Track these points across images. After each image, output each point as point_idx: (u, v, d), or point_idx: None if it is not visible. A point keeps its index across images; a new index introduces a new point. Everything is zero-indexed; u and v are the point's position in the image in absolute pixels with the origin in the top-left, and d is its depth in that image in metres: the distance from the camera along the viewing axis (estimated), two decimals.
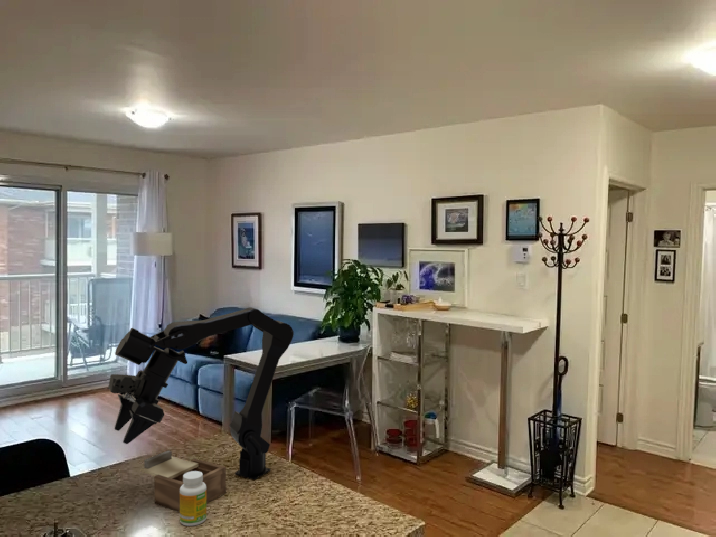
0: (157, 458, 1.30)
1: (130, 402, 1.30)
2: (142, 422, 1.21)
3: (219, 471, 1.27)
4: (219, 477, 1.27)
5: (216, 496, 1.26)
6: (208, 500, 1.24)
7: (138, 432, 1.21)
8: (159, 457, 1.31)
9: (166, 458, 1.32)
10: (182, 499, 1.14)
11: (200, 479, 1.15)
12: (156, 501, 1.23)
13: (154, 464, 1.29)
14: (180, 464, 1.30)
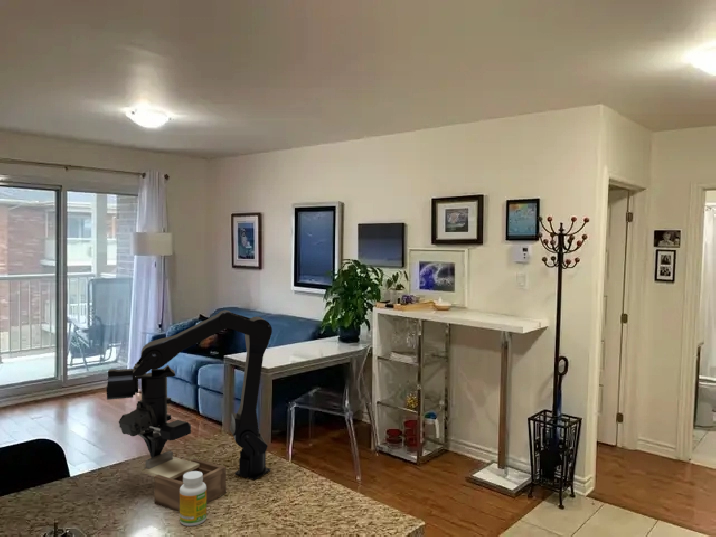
0: (158, 458, 1.30)
1: (152, 432, 1.32)
2: (160, 437, 1.31)
3: (219, 471, 1.27)
4: (219, 477, 1.27)
5: (216, 496, 1.26)
6: (208, 500, 1.24)
7: (162, 446, 1.32)
8: (160, 457, 1.30)
9: (167, 458, 1.32)
10: (182, 499, 1.14)
11: (200, 479, 1.15)
12: (156, 501, 1.23)
13: (155, 464, 1.29)
14: (181, 464, 1.30)
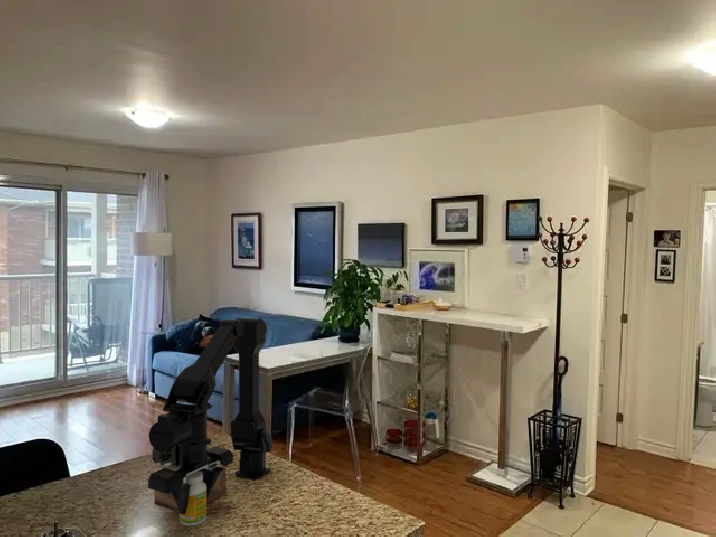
0: None
1: (204, 471, 1.19)
2: None
3: None
4: (219, 477, 1.27)
5: (216, 496, 1.26)
6: (208, 500, 1.24)
7: (181, 501, 1.12)
8: None
9: None
10: None
11: (200, 479, 1.15)
12: (156, 501, 1.23)
13: (172, 469, 1.26)
14: None
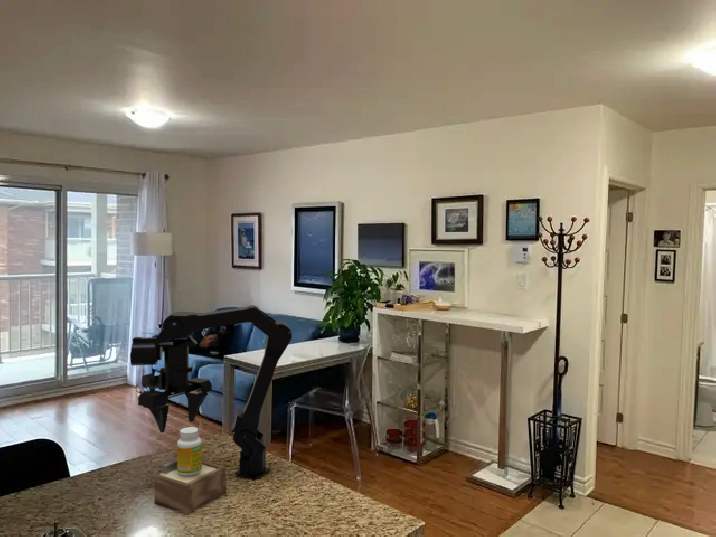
0: (175, 463, 1.27)
1: (191, 395, 1.40)
2: (159, 410, 1.31)
3: (219, 471, 1.27)
4: (219, 477, 1.27)
5: (216, 496, 1.26)
6: (208, 500, 1.24)
7: (160, 420, 1.31)
8: None
9: None
10: (179, 451, 1.24)
11: (196, 433, 1.25)
12: (156, 501, 1.23)
13: (172, 469, 1.26)
14: None
